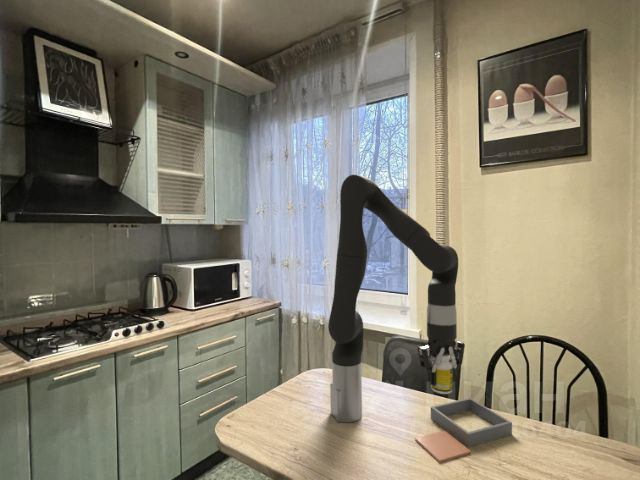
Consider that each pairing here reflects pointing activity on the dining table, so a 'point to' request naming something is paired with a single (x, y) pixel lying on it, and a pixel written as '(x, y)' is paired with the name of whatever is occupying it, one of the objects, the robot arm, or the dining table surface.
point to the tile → (442, 446)
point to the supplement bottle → (443, 376)
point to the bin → (475, 437)
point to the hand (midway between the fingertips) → (441, 382)
